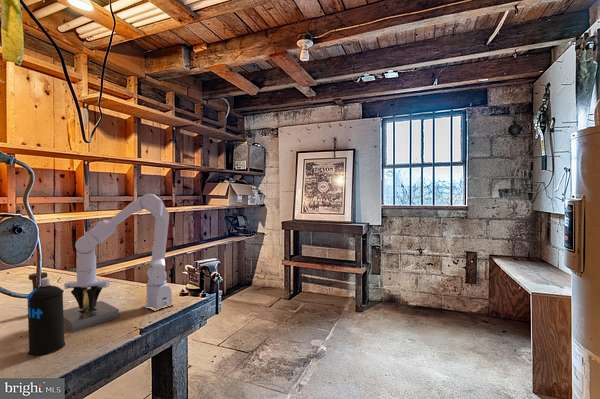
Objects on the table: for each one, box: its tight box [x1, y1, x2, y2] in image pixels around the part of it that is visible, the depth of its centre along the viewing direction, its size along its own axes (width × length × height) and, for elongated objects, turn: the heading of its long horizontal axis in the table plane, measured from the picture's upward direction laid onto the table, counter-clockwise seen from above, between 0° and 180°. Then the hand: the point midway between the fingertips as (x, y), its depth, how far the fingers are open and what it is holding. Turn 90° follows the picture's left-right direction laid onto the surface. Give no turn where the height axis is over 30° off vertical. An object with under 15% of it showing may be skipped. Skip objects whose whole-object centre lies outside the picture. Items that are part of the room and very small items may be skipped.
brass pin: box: [82, 288, 93, 314], centre depth 109 cm, size 3×3×9 cm
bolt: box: [28, 271, 48, 291], centre depth 115 cm, size 6×5×15 cm
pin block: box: [63, 300, 120, 333], centre depth 109 cm, size 16×14×3 cm
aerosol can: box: [26, 277, 66, 357], centre depth 87 cm, size 8×8×20 cm
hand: (87, 307), depth 109 cm, fingers closed on brass pin, 3 cm apart
